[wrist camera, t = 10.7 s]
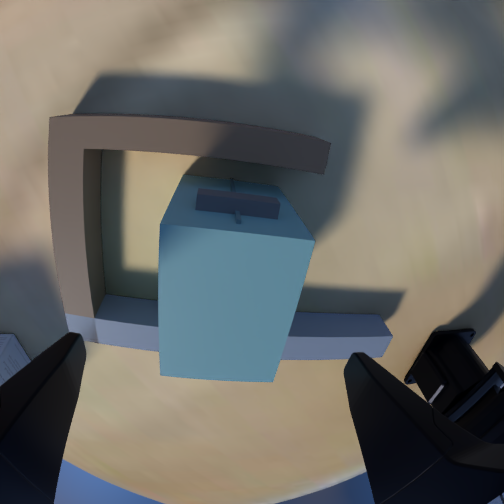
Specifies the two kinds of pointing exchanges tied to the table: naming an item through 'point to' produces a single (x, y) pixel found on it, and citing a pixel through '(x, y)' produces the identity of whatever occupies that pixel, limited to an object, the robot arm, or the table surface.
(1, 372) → the small box
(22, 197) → the table surface
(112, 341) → the u-shaped bar frame
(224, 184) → the blue block with grip
